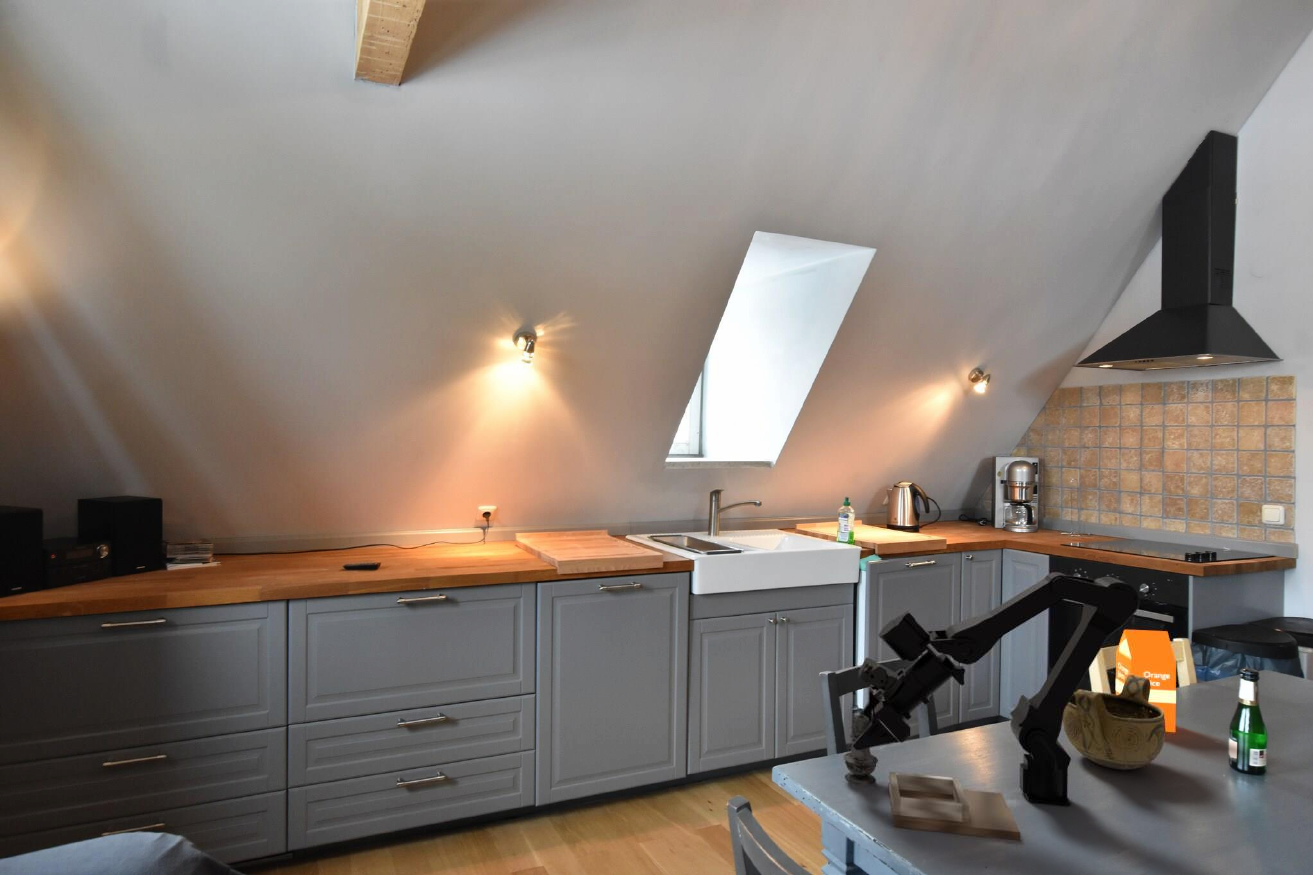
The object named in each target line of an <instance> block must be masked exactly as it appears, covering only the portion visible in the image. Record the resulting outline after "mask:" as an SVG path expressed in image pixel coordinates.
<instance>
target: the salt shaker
mask: <svg viewBox="0 0 1313 875" xmlns="http://www.w3.org/2000/svg"><path fill="white" fill-rule="evenodd" d="M862 711H863V709H861V710H860V711H859V714H857V715H855V716H853V719H852V725H853V729H852V733H850V735H849V736H850V738H851V750H850V752H847V753H845V754H844V755H843V759H844V761H845V762H844V763H845V766H846V768H847V769H848V771H849V772H848V773H846V774H845V776H844V778H845V780H846V781H847V782H849V783H851V784H854V785H859V786H868V785H869V786H870V785H873V784H875V783H876V782H877V779H876V777H875V776H874V775H873V774H872V773H873V772H874V771H875V770H876V767H877V763H879V759H878V757H876V756H875V755H873V754H872V753H871V747H869V748H865V749H861V750H856V749H855V748H854V747H853V744H854V743H855V741H856V740H857V739H858V737H859V736H860V735H861V734H862V733H863V731H864V730H865V729H866V728H867V727H868V725H869V724H870V721H869V719H868V718H867V717H866V716H864V715H863V712H862Z"/></svg>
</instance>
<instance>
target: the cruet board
mask: <svg viewBox="0 0 1313 875" xmlns="http://www.w3.org/2000/svg"><path fill="white" fill-rule="evenodd" d="M888 779H889V780H888V786H887V787H888V795H889V796H888V797H889V802H890V807H891V815H892V820H893V826H894V828H900V829H901V828H903V829H912V830H921V831H932V832H939V833H940V832H941V833H948V834H949V833H950V834H959V835H967V836H968V835H969V836H976V835H978V836H977V837H986V838H994V837H995V838H996V839H1003V838H1006V839H1005V840H1015V841H1021V831H1020V829H1019V827H1018V824H1017V823H1016V820H1015V818H1014V815H1013V814H1012V812H1011V810H1010V807H1009V806H1008V804H1007V802H1006V800H1005V798H1004V796H1003V794H1002V793H1001V792H993V791H991V792H990V791H981V790H971V789H963V786H962V784H961V782H960V779H959V778H958V777H950V776H939V775H929V774H928V775H927V774H921V773H920V774H919V773H917V774H916V773H908V772H897V771H889V772H888Z"/></svg>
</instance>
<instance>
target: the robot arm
mask: <svg viewBox="0 0 1313 875" xmlns="http://www.w3.org/2000/svg"><path fill="white" fill-rule="evenodd" d="M1064 600H1067V601H1070V602H1071V601H1072V602H1076V603H1079V604H1083V607H1082V612H1081V613H1082V614H1081V619H1080V623H1079V624H1078V625H1077V627H1076V630H1074V632H1073V634H1072V635H1071V638H1070V639H1069V641H1068V643H1067V645H1066V646H1065V648H1064V650H1063V651H1062V653H1061V655H1060V656H1059V658H1058V660H1057V661H1056V663H1055V665H1054V666H1053V668H1052V670H1051V671H1050V673H1049V675H1048V676H1047V678H1046V680H1045V682H1044V683H1043V685H1042V687H1041V688H1040V690H1039V691H1038V692H1037V693H1036V694H1035V695H1033V696H1032V697H1031V698H1028V697H1027V696H1025V695H1024V694H1022V695H1020V698H1019V700H1018V703H1017V706H1016V707H1015V708H1014V710H1012V711H1011V712H1010V713H1009V714H1010V716H1011V717H1012V718H1011V720H1010V728H1011V732H1012V733H1013V735H1014V737H1015V738H1016V740H1017V742H1018V744H1019V745H1020V746H1021V748H1022V749H1023V750H1024V751H1025V752H1026V753H1023V756H1022V758H1023V760H1022V761H1023V762H1021V763H1019V788H1020V790H1021V792H1022V794H1024V796H1025V798H1026V799H1027V801H1028V802H1031V803H1032V802H1033V803H1039V804H1040V803H1041V804H1053V805H1060V806H1071V805H1072V804H1071V803H1072V802H1071V800H1070V799H1069V797H1068V786H1069V785H1068V784H1069V783H1068V781H1069V780H1068V777H1069V766H1070V763H1071V761H1072V758H1071V756H1070V755H1069V753H1068V752H1067V751H1066V750H1065V748H1064V747H1063V745H1061V743H1060V742H1059V741H1058V740H1059V736H1060V733H1061V731H1062V726H1063V714H1064V710H1065V708H1066V706H1067V704H1068V703H1069V701H1070V699H1071V698H1072V696H1073V694H1074V693H1075V692H1077V690H1078V688H1079V685H1080V684H1081V683H1082V681H1083V679H1084V677H1085V676H1086V674H1087V672H1089V669H1090V668H1091V666H1092V664H1093V662H1094V661H1095V659H1096V658H1097V655H1098V654H1099V653H1100V651H1101V649H1102V648H1103V646H1104V644H1105V642H1106V641H1107V639H1108V638H1109V636H1111V635H1112V634H1113V633H1115V632H1116V631H1117V630H1119V629H1121V628H1122V627H1123V626H1124V625H1126V623H1127V622H1128V621H1129V620H1130V619H1131V618H1132V617H1133V615H1134V614H1135V613H1136V612H1137V611H1138V609H1139V607H1140V602H1141V601H1140V597H1139V594H1138V592H1137V591H1136V590H1135V588H1134V587H1133V586H1131V585H1130V584H1129V583H1125V581H1122V580H1119V579H1118V578H1115V577H1111V576H1101V577H1098V578H1096V579H1093V578H1088V577H1084V576H1076V575H1075V576H1074V575H1068V574H1064V573H1062V572H1058V571H1055V572H1050V573H1048V574H1047V575H1045V577H1044V578H1043V579H1041V580H1039V581H1038V582H1036V583H1035V584H1033V585H1031V586H1030V587H1027V588H1026V589H1025V590H1023V591H1021V592H1020V593H1018V594H1016V595H1015V596H1013V597H1012V598H1010V599H1008V600H1006V601H1005V602H1004V603H1002V604H1000V605H998V606H997V607H996V608H995V607H994V608H993V609H992V610H990V611H989V612H986V613H984V614H981V615H978V616H974V617H971V618H967V619H964V620H962V621H959V622H956V623H954V624H951V625H950V626H948V628H946V629H935V630H926V629H925V628H924V627H923V626H922V625H921V624H920V623H919V622H918V620H917V619H916V618H915V617H914V615H913V614H912V613H911V612H910V611H909V610H906V611H905V612H904V613H903V614H900V615H899V616H897V617H895V618H894V619H891V620H890V621H889V622H888V623H887V624H885V625H884V627H882V629H881V631H879V632H878V637H879V639H881V640H882V641H883V642H884V644H886V646H887V647H888V648H889V649H890V650H891V651H892V652H893V653H894V654H895V655H896V656H897V658H898V659H900V660H901V661H902V662H903V661H905V660H907V661H908V662H913V663H912V664H910V665H909V667H907V668H906V669H904V668H898V669H897V671H894V670H891V669H889V668H888V667H887V666H885V665H883V664H881V663H879V662H877V661H875V660H874V659H871V658H869V657H865V658H864V660H863V661H862V662H863V663H862V665H861V667H860V668H859V670H858V672H857V674H858V679H859V680H860V681H862V682H863V683H866V684H867V683H868V684H870V687H868V700H867V703H866V704H865V706H864V708H863V709H862V712H863V715H864V716H866V717H867V718H868V719H869V721H870V724H869V725H868V727H867V728H866V729H865V730H864V731H863V733H862V734H861V735H860V736H859V737H858V739H857V740H856V741H855V743H854V744H853V747H854V748H855V749H856V750H861V749H865V748H869V747H870V748H873V747H877V746H883V745H886V744H887V745H888V744H891V743H895V744H897V743H899V742H900V743H901V744H903V743H904V742H905V741H906V740H907V739H909V738H910V737H911V725H910V721H909V720H910V719H911V718H912V717H913V716H912V713H913V712H914V711H915V710H916V709H917V708H918V707H920V706H921V705H922V704H924V705H925V706H926V705H927V704H928V703H929V702H930V701H931V700H930V697H931V696H932V695H933V694H935V693H936V692H937V691H938V690H939V689H940V688H942V687H943V686H944V685H945V684H947V682H948V681H950V679H952V678H953V679H954V680H955V681H956V682H957V683H958V684H959V685H960V686H964V685H965V673H966V669H965V667H964V666H963V665H968V666H969V665H973V664H975V663H977V662H978V661H979V660H981V659H982V658H983V657H984V656H985V655H987V654H988V653H989V652H990V651H991V650H992V649H993V647H994V646H996V644H997V643H998V642H999V640H1001V638H1003V637H1004V636H1005V635H1006V634H1008V633H1010V632H1011V631H1013V630H1014V629H1016V628H1018V627H1020V626H1021V625H1023V624H1025V623H1026V622H1027V621H1028V622H1029V620H1031V619H1033V618H1035V617H1036V616H1038V615H1040V614H1041V613H1042V612H1045V611H1047V610H1048V609H1049V608H1051V607H1053V606H1055V605H1056V604H1058V603H1059V602H1061V601H1064ZM931 646H932V647H931ZM938 653H939V654H938ZM948 656H950V657H948ZM950 658H952V659H953V660H954V661H955V662H956V663H959V664H963V665H956V664H955V662H953V661H952V660H951V659H950ZM851 730H853V724H852V725H851Z"/></svg>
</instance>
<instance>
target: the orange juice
mask: <svg viewBox="0 0 1313 875" xmlns="http://www.w3.org/2000/svg"><path fill="white" fill-rule="evenodd" d="M1121 635H1122V636H1121V637H1120V641H1119V644H1118V647H1117V649H1116V651H1115V654H1116V655H1115V695H1119V694H1120V693H1121V692H1122V689H1123V686H1124V683H1125V680H1126V678H1127V676H1128V675H1136V676H1140V677H1143V678H1147V679H1149V681H1150V684H1151V688H1150V695H1149V701H1148V703H1150V704H1153V705H1155V706H1157V707H1159V708H1160V709H1161V710H1163V712H1164V717H1165V728H1166V733H1167V732H1168V733H1176V713H1177V712H1176V708H1177V707H1176V706H1177V705H1176V704H1177V689H1176V688H1177V687H1176V686H1177V684H1176V682H1177V661H1176V658H1175V655H1174V654H1175V653H1174V652H1173V648H1172V647H1173V646H1172V644H1171V640H1170V636H1169V633H1168V631H1167V630H1166V631H1165V630H1164V631H1162V630H1146V629H1145V630H1141V629H1124V630H1123V633H1122V634H1121Z"/></svg>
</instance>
